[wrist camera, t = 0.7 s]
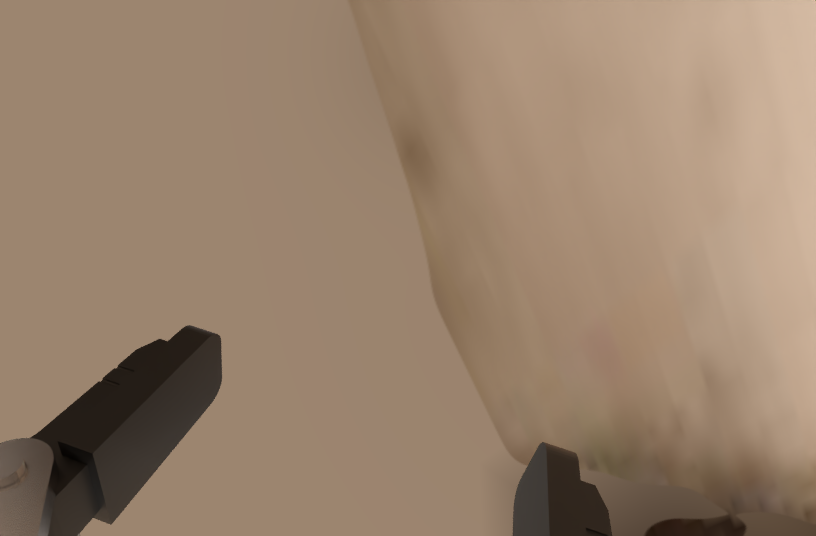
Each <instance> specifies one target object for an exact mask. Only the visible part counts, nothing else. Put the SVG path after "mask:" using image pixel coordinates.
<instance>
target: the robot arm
mask: <svg viewBox="0 0 816 536" xmlns="http://www.w3.org/2000/svg"><path fill="white" fill-rule="evenodd" d="M221 362H222V360H221V338H220V336H219V335H218V334H215V333H212V332H209V331H206V330H203V329H200V328H197V327H194V326H190V325H189V326H186V327H184V328H183V329H181V330H180V331H179V332H178V333H177V334H176V335H174V336H173V337H172V338H171V339H170V340H169V341H165V340H162V339H158V340H156V341H154V342H152V343H150V344H148V345H145V346H143V347H141V348H139V349H137V350H135V351H134V352H133V353H132V354H131V355H130V356H128V357H127V358H126V359H125V360H124V361H123V362H121V363H120V364H119V365H118V367H117V368H116V369H113V370H112V371H111V372H109V373H108V374H107V375H106V376H105V377H104V378H103V380H102V381H101V382H98V383H96V384H95V385H94V386H93V387H92V388H90V389H89V390H88V391H87V392H86V393H85V394H83V395H82V396H81V397H80V398H79V399H77V400H76V401H75V402H74V403H73V404H72V405H70V406H69V407H68V408H67V409H66V410H65V411H63V412H62V413H61V414H60V415H59V416H57V417H56V418H55V419H54V420H53V421H51V422H50V423H49V424H48V425H47V426H46V427H44V428H43V429H42V430H41V431H40V432H38V433H37V434H36V435H34V436H32V437H31V438H21V439H13V440H9V441H5V442H2V443H0V536H80V532H81V531H82V530H83V529H84V527H85V526H86V525H87V524H88V523H89V522H90V521H91V519H92V518H96V519H98V520H101V521H103V522H106V523H108V524H112V523H113V522H114V521H115V519H116V518H117V517H118V516H119V515H120V513H121V512H122V511H123V510H124V508H125V507H126V506H127V505H128V504H129V503H130V501H131V500H132V499H133V498H134V496H135V495H136V494H137V493H138V491H139V490H140V489H141V488H142V487H143V486H144V484H145V483H146V482H147V481H148V479H149V478H150V477H151V476H152V475H153V473H154V472H155V471H156V470H157V469H158V467H159V466H160V465H161V464H162V463H163V461H164V460H165V459H166V458H167V456H168V455H169V454H170V452H172V450H173V449H174V448H175V447H176V446H177V444H178V443H179V442H180V441H181V439H182V438H183V437H184V436H185V435H186V433H187V432H188V431H189V430H190V429H191V427H192V426H193V425H194V423H195V422H196V421H197V420H198V419H199V418H200V416H201V415H202V414H203V413H204V412H205V410H206V409H207V408H208V407H209V406H210V404H211V403H212V402H213V400H214V399H215V397H216V395H217V393H218V391H219V389H220V385H221V381H222V364H221ZM513 513H514V514H513V536H612V532H611V526H610V519H609V513H608V510H607V507H606V506H605V504H604V502H603V500H602V498H601V496H600V494H599V492H598V490H597V488H596V486H595V485H592V484H589V483H586V482H583V481H581V480H580V470H579V461H578V457H577V455H576V453H574V452H571V451H568V450H565V449H562V448H559V447H556V446H553V445H550V444H547V443H544V442H542V443H541V444H540V445H539V446H538V448H537V450H536V452H535V454H534V456H533V457H532V459H531V461H530V463H529V465H528V467H527V468H526V470H525V472H524V474H523V476H522V478H521V480H520V482H519V484H518V487H517V491H516V495H515V501H514V512H513Z"/></svg>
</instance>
